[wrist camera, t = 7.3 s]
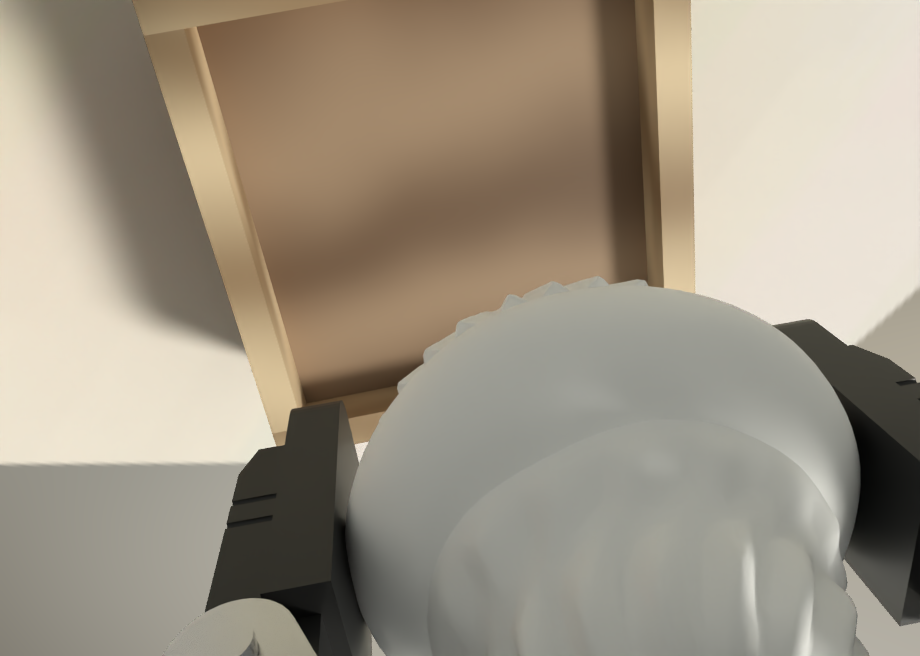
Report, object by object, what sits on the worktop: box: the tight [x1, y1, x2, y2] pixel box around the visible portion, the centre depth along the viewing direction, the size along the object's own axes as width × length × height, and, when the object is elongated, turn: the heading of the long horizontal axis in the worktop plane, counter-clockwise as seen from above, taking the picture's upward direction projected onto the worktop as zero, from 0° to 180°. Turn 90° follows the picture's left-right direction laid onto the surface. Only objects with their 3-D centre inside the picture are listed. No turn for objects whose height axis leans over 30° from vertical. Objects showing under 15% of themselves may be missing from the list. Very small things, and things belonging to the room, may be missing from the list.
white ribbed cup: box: [345, 276, 869, 656], centre depth 9 cm, size 6×6×7 cm
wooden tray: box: [132, 0, 695, 446], centre depth 24 cm, size 14×14×6 cm
